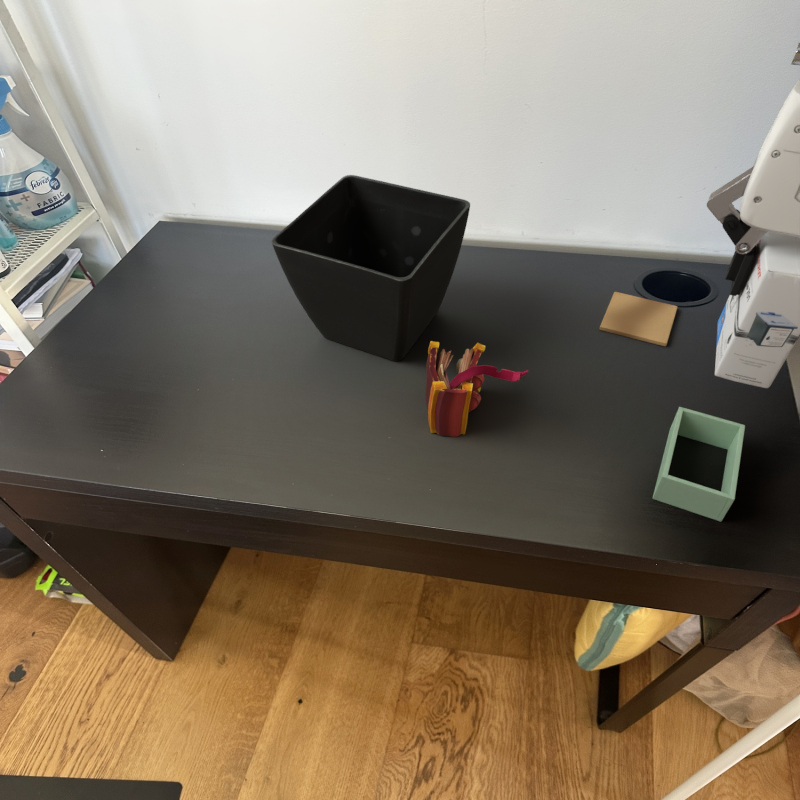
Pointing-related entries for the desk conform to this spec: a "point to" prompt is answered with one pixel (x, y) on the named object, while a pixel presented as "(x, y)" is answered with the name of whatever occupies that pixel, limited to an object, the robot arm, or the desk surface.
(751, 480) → the desk surface
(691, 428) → the sleeve
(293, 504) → the desk surface
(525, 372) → the book monster
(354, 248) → the flower pot
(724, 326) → the ink box
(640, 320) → the coaster board
